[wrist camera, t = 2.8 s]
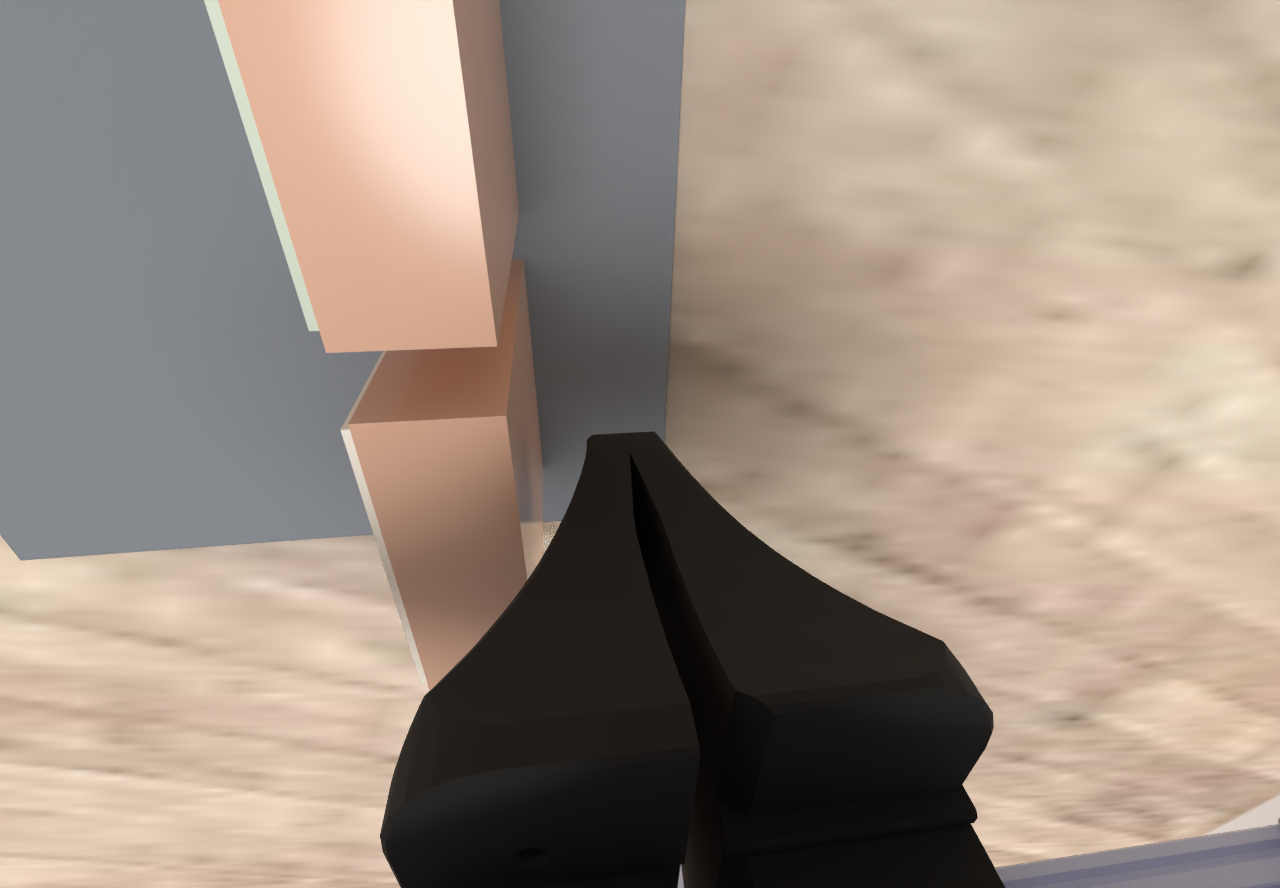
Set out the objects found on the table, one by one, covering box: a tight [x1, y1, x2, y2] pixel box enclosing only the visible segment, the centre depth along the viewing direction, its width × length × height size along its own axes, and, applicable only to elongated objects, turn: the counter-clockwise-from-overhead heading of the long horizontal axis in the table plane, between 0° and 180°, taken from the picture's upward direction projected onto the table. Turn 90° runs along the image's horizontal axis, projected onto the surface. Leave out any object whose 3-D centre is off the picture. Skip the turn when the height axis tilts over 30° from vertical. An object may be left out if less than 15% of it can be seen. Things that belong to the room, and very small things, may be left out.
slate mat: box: [0, 0, 685, 560], centre depth 13 cm, size 17×18×1 cm
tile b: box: [204, 0, 519, 353], centre depth 8 cm, size 2×6×7 cm, turn 179°
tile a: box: [341, 259, 543, 690], centre depth 12 cm, size 2×6×7 cm, turn 179°
